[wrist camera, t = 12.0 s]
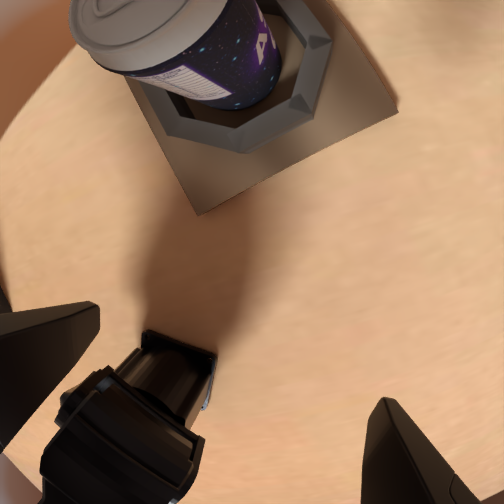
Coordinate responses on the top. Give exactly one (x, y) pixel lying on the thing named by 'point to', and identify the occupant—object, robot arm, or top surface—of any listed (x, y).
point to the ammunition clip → (4, 303)
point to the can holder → (270, 108)
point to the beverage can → (183, 46)
